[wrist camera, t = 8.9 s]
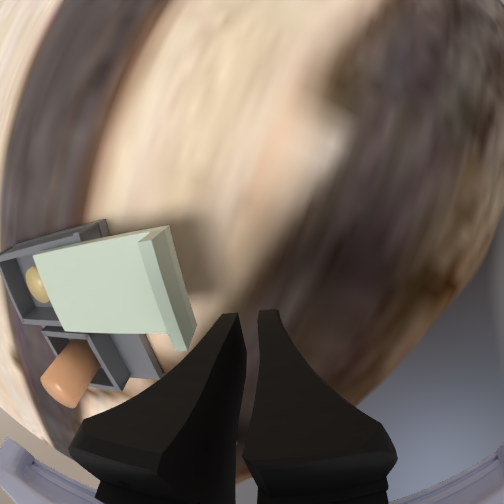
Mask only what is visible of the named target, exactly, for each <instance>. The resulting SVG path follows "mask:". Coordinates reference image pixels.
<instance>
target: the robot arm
mask: <svg viewBox="0 0 504 504" xmlns="http://www.w3.org/2000/svg"><path fill="white" fill-rule="evenodd" d="M258 335H259V350H260V366H259V374H258V383H257V389H256V396H255V402H254V408H253V413H252V418H251V423H250V427H249V431H248V435H247V439H246V443H245V447H244V451H243V454H242V457H243V459H244V461H245V463H246V465H247V467H248V469H249V471H250V473H251V475H252V477H253V478H254V480H255V482H256V484H257V486H258V498H257V504H504V443H503V444H502V445H501V446H500V447H499V448H498V449H497V451H496V452H494V453H493V454H491V455H490V456H488V457H487V458H485V459H483V460H482V461H480V462H478V463H477V464H475V465H473V466H472V467H470V468H468V469H466V470H464V471H463V472H461V473H459V474H457V475H455V476H453V477H451V478H449V479H447V480H445V481H443V482H441V483H438V484H436V485H434V486H432V487H429V488H427V489H424V490H422V491H420V492H417V493H414V494H412V495H409V496H407V497H403V498H401V499H398V500H394V501H392V502H388V498H387V493H386V491H387V490H388V482H387V478H386V476H387V475H388V474H389V472H390V471H391V470H392V468H393V467H394V465H395V464H396V461H397V459H398V457H397V454H396V450H395V447H394V445H393V443H392V441H391V439H390V437H389V435H388V433H387V432H386V430H385V429H384V427H383V426H382V424H381V423H380V422H378V421H376V420H375V419H373V418H371V417H369V416H368V415H366V414H365V413H363V412H362V411H360V410H359V409H357V408H356V407H354V406H353V405H352V404H350V403H349V402H347V401H346V400H345V399H343V398H342V397H341V396H340V395H339V394H338V393H337V392H335V391H334V390H333V389H332V388H331V387H330V386H328V385H327V384H326V383H325V382H324V381H323V380H322V379H321V378H320V377H319V376H318V375H317V374H316V373H315V371H314V370H313V369H312V368H311V367H310V366H309V365H308V363H307V362H306V361H305V360H304V358H303V357H302V356H301V354H300V353H299V351H298V350H297V349H296V347H295V346H294V344H293V342H292V341H291V339H290V337H289V336H288V334H287V332H286V330H285V328H284V326H283V324H282V321H281V319H280V315H279V311H278V310H277V309H270V310H261V311H259V315H258ZM246 362H247V351H246V347H245V343H244V338H243V334H242V329H241V325H240V320H239V316H238V313H229V314H222V315H221V316H220V318H219V319H218V320H217V321H216V322H215V324H214V325H213V326H212V327H211V329H210V330H209V331H208V332H207V333H206V335H205V336H204V337H203V338H202V339H201V341H200V342H199V343H198V344H197V345H196V346H195V347H194V349H193V350H192V351H191V352H190V353H189V354H188V355H187V356H186V357H185V358H184V359H183V360H182V361H181V362H180V363H179V364H178V365H177V366H176V367H174V368H173V369H172V370H171V371H170V372H169V373H167V374H166V375H165V376H164V377H162V378H161V379H160V380H159V381H157V382H156V383H154V384H153V385H151V386H150V387H148V388H147V389H145V390H144V391H142V392H141V393H139V394H138V395H136V396H134V397H133V398H131V399H129V400H127V401H126V402H124V403H122V404H120V405H118V406H116V407H114V408H111V409H109V410H107V411H104V412H102V413H99V414H97V415H94V416H92V417H89V418H86V419H84V420H83V422H82V424H81V425H80V427H79V429H78V431H77V433H76V435H75V437H74V439H73V441H72V443H71V444H70V446H69V448H68V449H69V453H70V455H71V456H72V458H73V459H74V460H75V461H76V462H77V463H79V464H80V465H81V466H82V467H83V468H85V469H86V470H87V471H88V472H90V473H91V474H92V475H94V476H95V477H96V478H98V479H99V480H100V484H99V487H98V489H97V490H96V489H94V488H91V487H89V486H87V485H85V484H82V483H80V482H78V481H76V480H74V479H72V478H69V477H67V476H66V475H63V474H61V473H59V472H58V471H56V470H54V469H52V468H50V467H48V466H47V465H45V464H43V463H41V462H40V461H38V460H37V459H35V458H34V457H33V456H32V455H31V454H30V453H29V452H28V451H27V450H26V449H24V448H23V447H22V446H20V445H19V444H18V443H16V442H15V441H13V440H12V439H10V438H9V437H7V438H6V439H5V441H4V443H3V445H2V446H1V448H0V487H1V488H2V489H3V490H4V491H5V492H6V493H7V494H8V495H9V496H10V497H11V498H12V500H13V501H14V502H15V503H16V504H235V470H236V445H237V427H238V419H239V413H240V408H241V402H242V396H243V390H244V384H245V378H246Z"/></svg>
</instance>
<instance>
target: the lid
mask: <svg viewBox="0 0 504 504" xmlns="http://www.w3.org/2000/svg"><path fill="white" fill-rule="evenodd" d="M33 258H34V261H35V264H36V267H37V270H38V272H39V275H40V278H41V280H42V283H43V285H44V288H45V290H46V292H47V295H48V297H49V299H50V302H51V304H52V306H53V308H54V310H55V313H56V315H57V317H58V319H59V321H60V323H61V325H62V327H63V329H64V331H69V332H87V333H117V334H161V333H168V335H169V337H170V340H171V342H172V345H173V347H174V350H175V351H188V348H189V345H190V343H191V340H192V337H193V335H194V332H195V329H196V326H197V323H196V320H195V317H194V314H193V311H192V307H191V304H190V301H189V297H188V294H187V291H186V287H185V284H184V280H183V277H182V273H181V269H180V266H179V262H178V258H177V254H176V251H175V247H174V243H173V239H172V235H171V231H170V226H169V225H167V226H161V227H155V228H150V229H144V230H139V231H134V232H128V233H123V234H118V235H113V236H108V237H103V238H98V239H93V240H89V241H84V242H79V243H75V244H70V245H66V246H61V247H57V248H53V249H48V250H44V251H40V252H38V253H36V254H34V255H33Z"/></svg>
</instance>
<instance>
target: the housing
mask: <svg viewBox="0 0 504 504" xmlns="http://www.w3.org/2000/svg"><path fill="white" fill-rule="evenodd" d="M108 236H110V235H109V232H108V228H107V224H106V221H105V219H103V220H99V221H95V222H91V223H87V224H83V225H79V226H75V227H72V228H68V229H64V230H61V231H57V232H54V233H50V234H47V235H43V236H40V237H37V238H33V239H30V240H27V241H24V242H21V243H17V244H15V245H13V246H11V247H9V248H7V249H5V250H3V251H2V252H0V273H1V276H2V278H3V281H4V283H5V286H6V288H7V291H8V293H9V296H10V298H11V300H12V302H13V305H14V307H15V309H16V311H17V313H18V315H19V317H20V319H21V321H22V323H23V324H34V325H42V327H43V330H42V333H43V335H44V337H45V338H46V340H47V342H48V344H49V346H50V347H51V349H52V351H53V352H54V354H55V356H56V357H57V356H58V355H59V354H60V353H61V351H62V350H63V349H64V348H65V347H66V345H67V344H68V343H69V342H70V341H71V339H72V338H73V339H86V340H87V341H88V343H89V345H90V347H91V349H92V351H93V352H94V354H95V356H96V358H97V359H98V361H99V363H100V364H101V366H100V368H99V370H98V371H97V373H96V374H95V376H94V377H93V379H92V381H91V382H90V384H89V385H88V386H90V387H96V388H101V389H107V390H113V391H120V392H122V391H123V389H124V387H125V385H126V383H127V381H128V379H129V377H132V378H143V379H158V380H160V379H161V377H162V374H163V372H162V370H161V368H160V366H159V364H158V361H157V359H156V357H155V355H154V353H153V351H152V349H151V347H150V344H149V342H148V340H147V338H146V335H145V334H117V333H87V332H69V331H64V329H63V327H62V325H61V323H60V321H59V319H58V317H57V315H56V313H55V310H54V308H53V306H52V304H51V302H50V299H49V297H48V295H47V292H46V290H45V288H44V285H43V283H42V280H41V278H40V275H39V272H38V270H37V267H36V264H35V261H34V258H33V255H34V254H36V253H38V252H40V251H44V250H48V249H53V248H57V247H61V246H66V245H70V244H75V243H79V242H84V241H89V240H93V239H98V238H103V237H108Z"/></svg>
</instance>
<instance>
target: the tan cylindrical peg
mask: <svg viewBox="0 0 504 504" xmlns="http://www.w3.org/2000/svg"><path fill="white" fill-rule="evenodd" d="M100 366H101V364H100V363H99V361H98V359H97V358H96V356H95V354H94V352H93V351H92V349H91V347H90V345H89V343H88V341H87V340H86V339H73V338H72V339H71V341H70V342H69V343H68V344H67V345H66V347H65V348H64V349H63V350H62V351H61V353H60V354H59V355H58V356H57V358H56V359H55V360H54V361H53V363H52V364H51V365H50V366H49V368H48V369H47V370H46V372H45V373H44V374H43V375H42V377H41V383H42V385H43V386H44V388H45V389H46V391H47V392H48V393H49V394H50V395H51V396H52V397H53V398H54V399H56V400H57V401H58V402H60V403H61V404H63V405H65V406H67V407H70V408H75V407H76V405H77V403H78V402H79V400H80V398H81V397H82V395H83V393H84V392H85V390H86V389H87V387H88V385H89V384H90V382H91V381H92V379H93V377H94V376H95V374H96V373H97V371H98V370H99V368H100Z"/></svg>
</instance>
